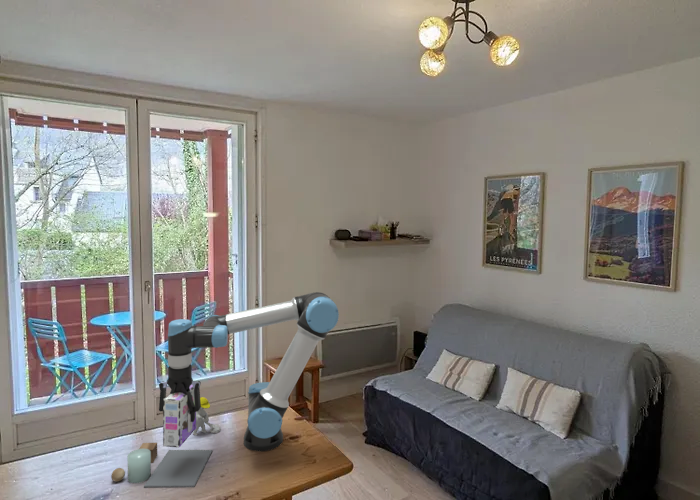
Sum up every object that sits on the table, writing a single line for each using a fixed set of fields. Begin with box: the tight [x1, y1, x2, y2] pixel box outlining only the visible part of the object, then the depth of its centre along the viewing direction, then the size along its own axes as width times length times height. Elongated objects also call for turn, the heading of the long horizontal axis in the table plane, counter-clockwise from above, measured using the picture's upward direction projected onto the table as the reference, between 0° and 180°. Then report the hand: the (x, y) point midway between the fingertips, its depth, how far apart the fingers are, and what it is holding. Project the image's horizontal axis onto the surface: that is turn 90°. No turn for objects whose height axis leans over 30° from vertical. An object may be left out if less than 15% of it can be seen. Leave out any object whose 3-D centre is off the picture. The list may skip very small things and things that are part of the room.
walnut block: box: [138, 442, 158, 464], centre depth 158 cm, size 5×5×5 cm
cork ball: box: [110, 467, 126, 483], centre depth 145 cm, size 4×4×4 cm
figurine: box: [192, 396, 222, 436], centre depth 177 cm, size 10×9×15 cm
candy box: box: [162, 384, 196, 448], centre depth 151 cm, size 14×6×16 cm, turn 176°
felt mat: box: [143, 449, 213, 489], centre depth 153 cm, size 16×22×1 cm
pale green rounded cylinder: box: [126, 448, 152, 484], centre depth 147 cm, size 7×7×8 cm
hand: (180, 430), depth 152 cm, fingers closed on candy box, 6 cm apart
